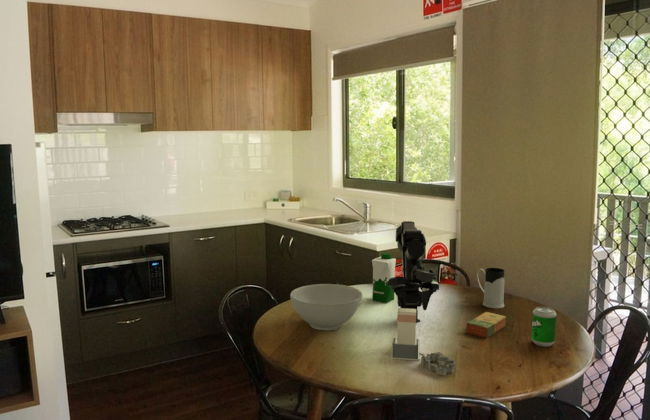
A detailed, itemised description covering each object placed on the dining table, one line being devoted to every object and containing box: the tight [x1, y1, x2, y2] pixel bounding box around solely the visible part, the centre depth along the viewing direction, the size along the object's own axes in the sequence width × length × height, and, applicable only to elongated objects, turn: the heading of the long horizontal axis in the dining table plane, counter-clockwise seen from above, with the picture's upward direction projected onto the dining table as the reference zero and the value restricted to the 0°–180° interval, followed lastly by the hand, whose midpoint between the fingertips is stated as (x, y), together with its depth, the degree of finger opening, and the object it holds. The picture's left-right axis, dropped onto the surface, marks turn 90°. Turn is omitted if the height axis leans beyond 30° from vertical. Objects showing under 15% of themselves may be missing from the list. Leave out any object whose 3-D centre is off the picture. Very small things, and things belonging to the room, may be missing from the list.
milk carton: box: [371, 252, 397, 304], centre depth 239 cm, size 9×9×20 cm
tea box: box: [396, 307, 417, 345], centre depth 188 cm, size 4×6×12 cm, turn 80°
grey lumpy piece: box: [419, 351, 458, 376], centre depth 172 cm, size 11×8×4 cm
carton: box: [465, 311, 507, 339], centre depth 206 cm, size 8×16×4 cm, turn 139°
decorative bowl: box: [289, 283, 363, 331], centre depth 210 cm, size 27×27×12 cm
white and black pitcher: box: [476, 267, 505, 309], centre depth 236 cm, size 9×14×15 cm, turn 29°
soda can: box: [531, 306, 557, 347], centre depth 191 cm, size 8×8×12 cm
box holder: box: [390, 337, 421, 361], centre depth 187 cm, size 17×9×5 cm, turn 170°
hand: (414, 309), depth 194 cm, fingers open, 9 cm apart
